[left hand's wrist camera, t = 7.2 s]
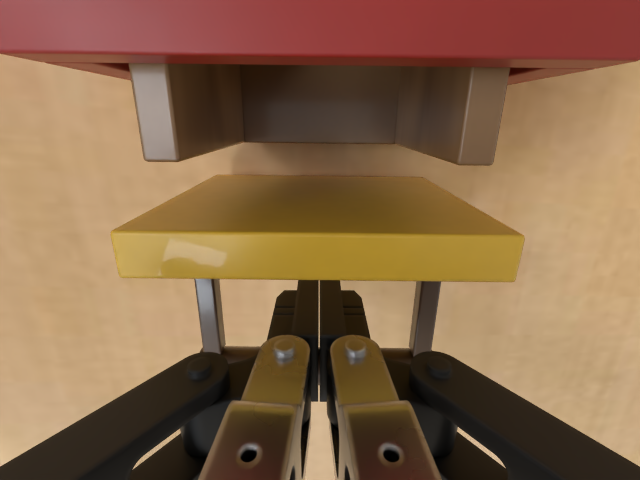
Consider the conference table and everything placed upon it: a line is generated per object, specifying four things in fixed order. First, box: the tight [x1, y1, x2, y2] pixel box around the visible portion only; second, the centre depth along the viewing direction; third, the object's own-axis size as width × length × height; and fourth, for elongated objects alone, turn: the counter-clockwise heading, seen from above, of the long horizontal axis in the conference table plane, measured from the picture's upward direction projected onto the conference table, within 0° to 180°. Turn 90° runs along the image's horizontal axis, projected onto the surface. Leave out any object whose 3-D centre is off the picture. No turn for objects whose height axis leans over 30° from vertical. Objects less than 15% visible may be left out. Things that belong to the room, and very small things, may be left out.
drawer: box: [111, 63, 525, 385], centre depth 10 cm, size 22×9×8 cm, turn 179°
